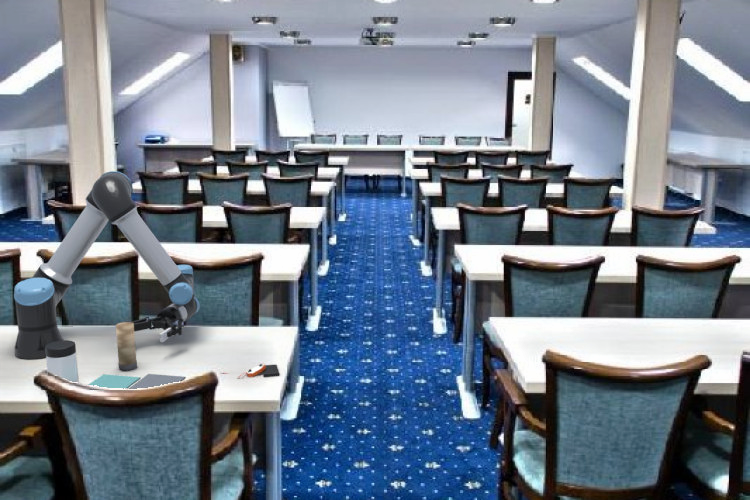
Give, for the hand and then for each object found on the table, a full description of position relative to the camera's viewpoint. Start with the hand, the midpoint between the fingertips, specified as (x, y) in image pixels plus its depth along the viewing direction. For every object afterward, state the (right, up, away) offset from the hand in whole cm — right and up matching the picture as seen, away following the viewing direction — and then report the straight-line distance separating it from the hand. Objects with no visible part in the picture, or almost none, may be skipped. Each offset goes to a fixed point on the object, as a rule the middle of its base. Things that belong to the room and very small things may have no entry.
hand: (141, 336), depth 241 cm
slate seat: (+10, -12, -19) cm, 24 cm away
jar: (-17, -12, -18) cm, 27 cm away
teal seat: (-3, -12, -19) cm, 22 cm away
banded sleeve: (-2, -9, -6) cm, 11 cm away
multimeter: (+36, -11, -13) cm, 40 cm away
